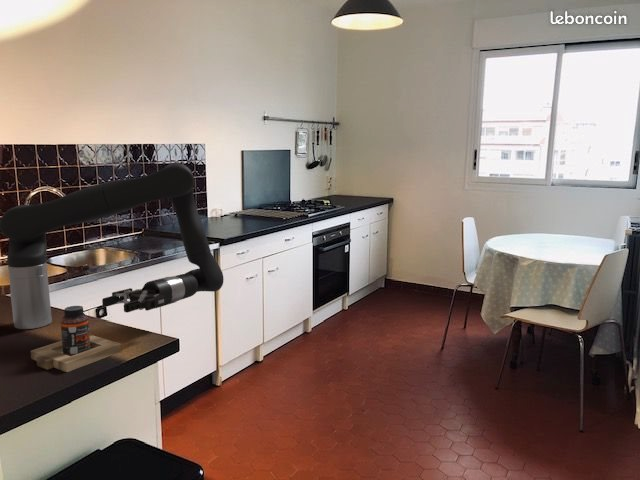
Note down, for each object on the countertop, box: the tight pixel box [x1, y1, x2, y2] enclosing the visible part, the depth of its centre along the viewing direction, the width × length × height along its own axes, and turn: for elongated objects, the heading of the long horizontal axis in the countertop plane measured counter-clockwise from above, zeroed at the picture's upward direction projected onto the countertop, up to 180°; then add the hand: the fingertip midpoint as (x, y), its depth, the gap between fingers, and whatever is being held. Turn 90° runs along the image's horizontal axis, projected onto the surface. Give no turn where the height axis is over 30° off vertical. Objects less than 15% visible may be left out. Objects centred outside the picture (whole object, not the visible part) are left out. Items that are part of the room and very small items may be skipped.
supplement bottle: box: [60, 305, 91, 356], centre depth 123 cm, size 6×6×11 cm
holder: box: [30, 333, 122, 373], centre depth 123 cm, size 14×16×2 cm
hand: (113, 305), depth 131 cm, fingers open, 8 cm apart
